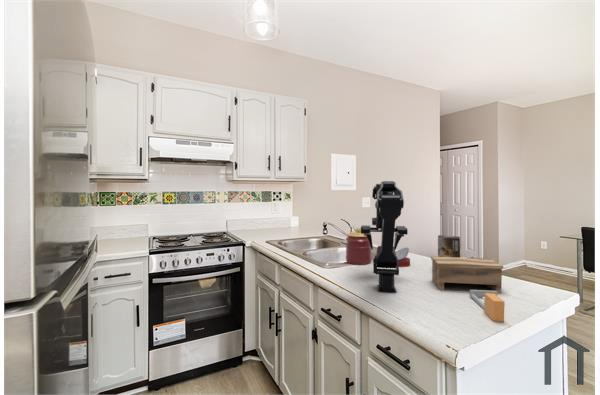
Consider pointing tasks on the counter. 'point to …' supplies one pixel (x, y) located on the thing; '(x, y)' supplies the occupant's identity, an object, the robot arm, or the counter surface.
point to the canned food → (403, 257)
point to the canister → (358, 248)
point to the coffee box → (448, 246)
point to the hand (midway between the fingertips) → (383, 250)
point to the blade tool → (490, 304)
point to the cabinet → (466, 272)
